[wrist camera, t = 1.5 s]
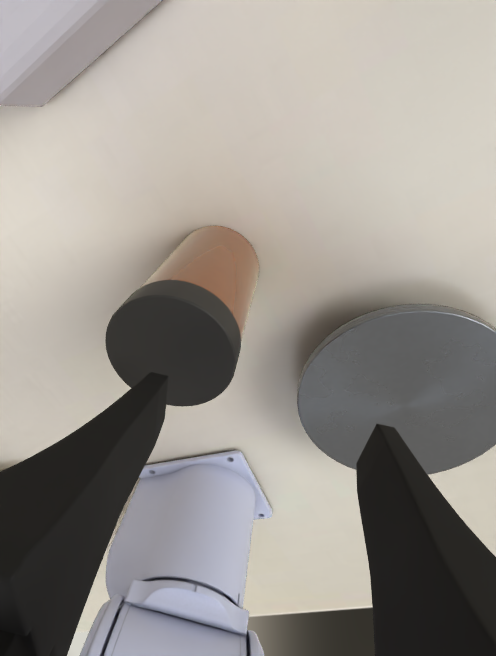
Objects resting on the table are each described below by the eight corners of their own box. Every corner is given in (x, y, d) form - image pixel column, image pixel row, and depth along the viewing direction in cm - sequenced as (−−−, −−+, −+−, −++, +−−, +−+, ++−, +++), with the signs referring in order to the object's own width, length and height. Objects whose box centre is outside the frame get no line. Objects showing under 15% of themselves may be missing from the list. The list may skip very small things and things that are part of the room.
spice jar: (197, 314, 23) (144, 416, 15) (161, 240, 21) (79, 316, 13) (272, 292, 22) (254, 393, 14) (241, 211, 20) (202, 277, 12)
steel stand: (324, 453, 28) (327, 488, 25) (273, 317, 22) (269, 344, 20) (505, 425, 24) (529, 462, 22) (494, 257, 19) (523, 280, 17)
